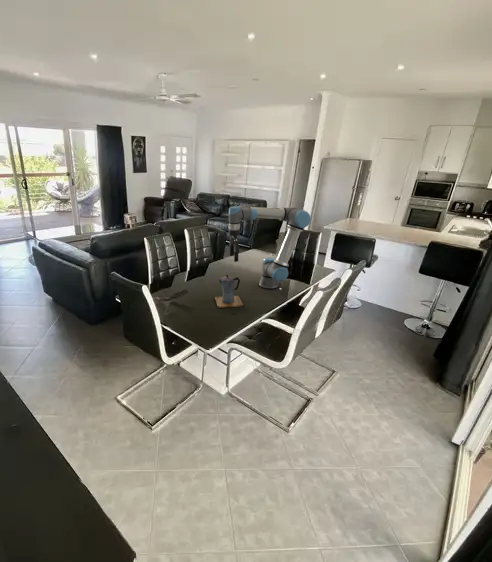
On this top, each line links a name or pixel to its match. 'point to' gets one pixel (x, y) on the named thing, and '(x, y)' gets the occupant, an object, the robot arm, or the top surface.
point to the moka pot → (228, 288)
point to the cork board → (236, 303)
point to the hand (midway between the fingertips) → (234, 258)
